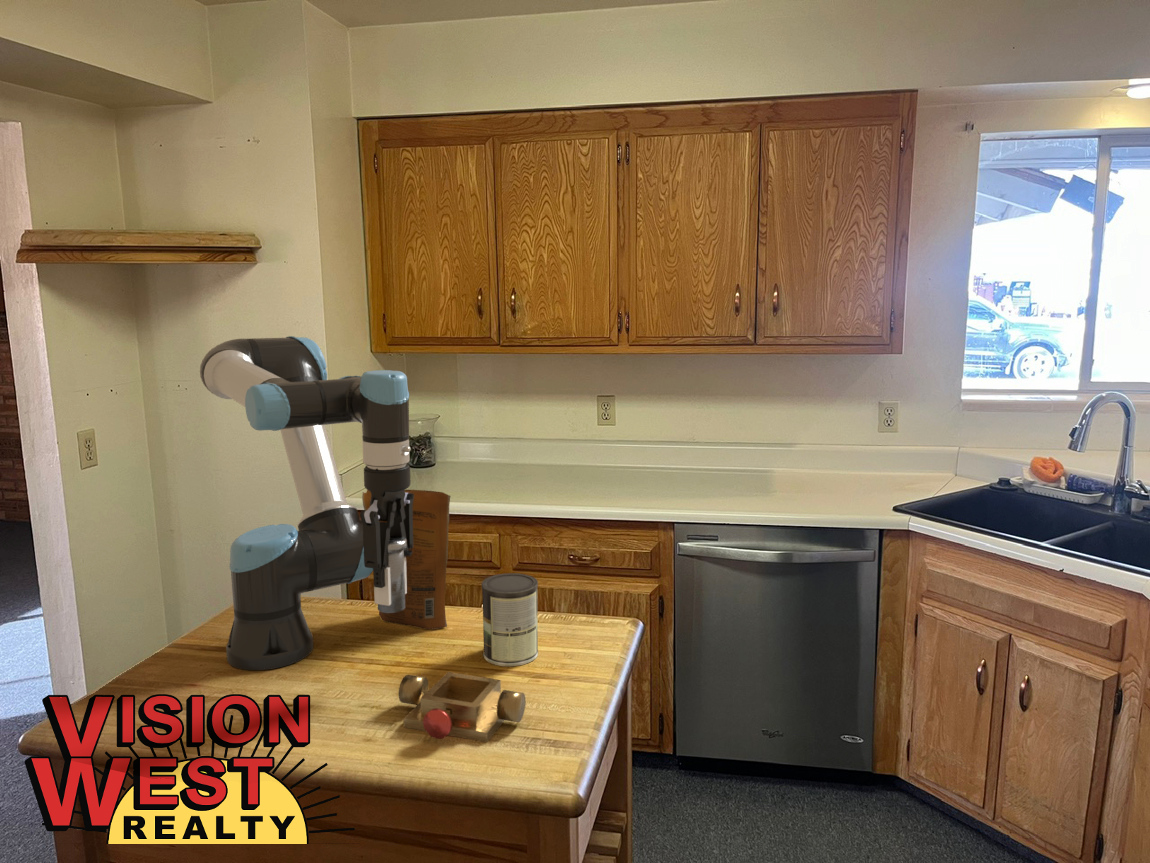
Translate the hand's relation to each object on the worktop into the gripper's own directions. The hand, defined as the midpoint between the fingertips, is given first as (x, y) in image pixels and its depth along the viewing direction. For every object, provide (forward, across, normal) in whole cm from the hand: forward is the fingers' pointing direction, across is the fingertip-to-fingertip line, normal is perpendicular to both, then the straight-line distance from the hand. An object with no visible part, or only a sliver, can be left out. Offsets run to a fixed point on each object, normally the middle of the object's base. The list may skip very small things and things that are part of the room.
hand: (391, 597), depth 138 cm
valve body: (+15, -9, -17) cm, 24 cm away
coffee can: (+15, +16, -16) cm, 27 cm away
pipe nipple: (+2, 0, 0) cm, 2 cm away
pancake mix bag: (+15, +23, +10) cm, 29 cm away
